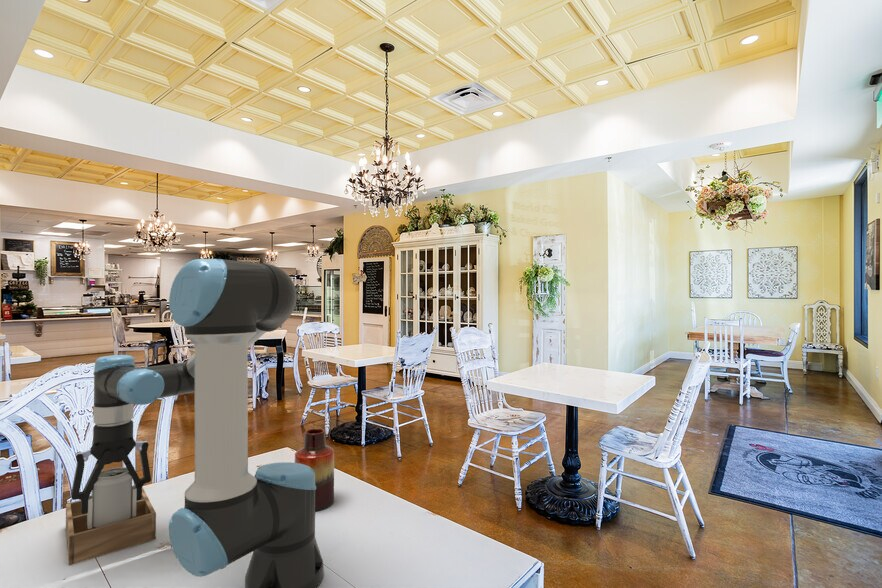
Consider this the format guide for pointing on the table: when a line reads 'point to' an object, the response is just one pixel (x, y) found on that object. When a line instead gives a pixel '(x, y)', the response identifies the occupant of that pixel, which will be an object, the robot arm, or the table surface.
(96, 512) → the can
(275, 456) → the table surface
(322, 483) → the vase
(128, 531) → the rack
